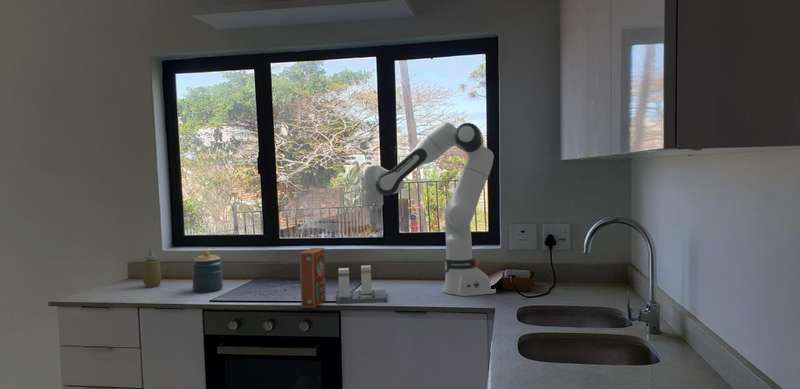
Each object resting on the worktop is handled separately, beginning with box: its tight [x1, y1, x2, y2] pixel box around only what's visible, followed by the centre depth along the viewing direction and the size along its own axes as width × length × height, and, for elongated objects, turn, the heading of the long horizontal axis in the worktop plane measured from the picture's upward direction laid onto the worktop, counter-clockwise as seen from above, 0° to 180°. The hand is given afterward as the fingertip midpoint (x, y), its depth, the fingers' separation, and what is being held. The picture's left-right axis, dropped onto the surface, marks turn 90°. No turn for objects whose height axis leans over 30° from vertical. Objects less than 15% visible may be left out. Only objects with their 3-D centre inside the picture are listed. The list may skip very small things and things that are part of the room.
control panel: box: [299, 247, 327, 309], centre depth 192 cm, size 21×7×15 cm
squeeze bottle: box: [142, 248, 163, 288], centre depth 230 cm, size 8×8×18 cm
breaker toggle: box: [360, 265, 372, 294], centre depth 201 cm, size 4×4×11 cm
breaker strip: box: [335, 267, 388, 305], centre depth 199 cm, size 20×14×13 cm
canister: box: [191, 250, 224, 293], centre depth 221 cm, size 13×13×18 cm
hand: (374, 231), depth 219 cm, fingers open, 2 cm apart
